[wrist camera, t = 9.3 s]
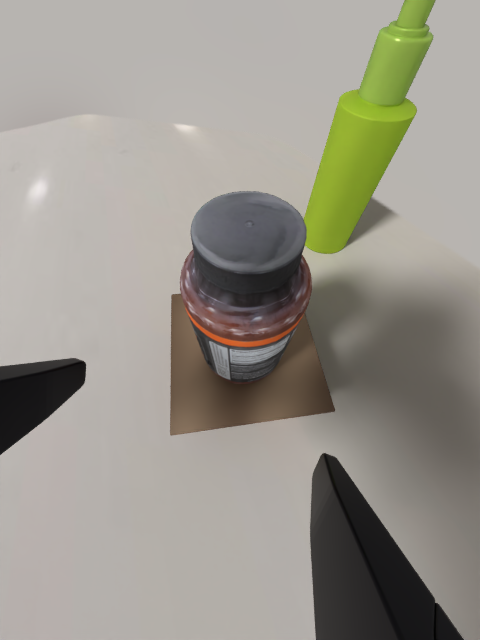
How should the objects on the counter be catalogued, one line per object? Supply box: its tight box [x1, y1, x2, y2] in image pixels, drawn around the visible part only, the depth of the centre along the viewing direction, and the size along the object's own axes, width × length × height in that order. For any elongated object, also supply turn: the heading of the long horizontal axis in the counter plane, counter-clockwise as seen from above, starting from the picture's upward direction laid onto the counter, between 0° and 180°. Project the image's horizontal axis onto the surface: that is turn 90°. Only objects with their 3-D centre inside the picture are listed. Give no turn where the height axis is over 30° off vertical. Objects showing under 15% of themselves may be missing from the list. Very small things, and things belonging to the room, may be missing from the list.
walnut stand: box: [170, 294, 335, 435], centre depth 20 cm, size 11×11×4 cm
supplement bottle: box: [180, 191, 312, 384], centre depth 13 cm, size 6×6×11 cm
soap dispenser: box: [304, 0, 435, 254], centre depth 21 cm, size 6×7×20 cm
